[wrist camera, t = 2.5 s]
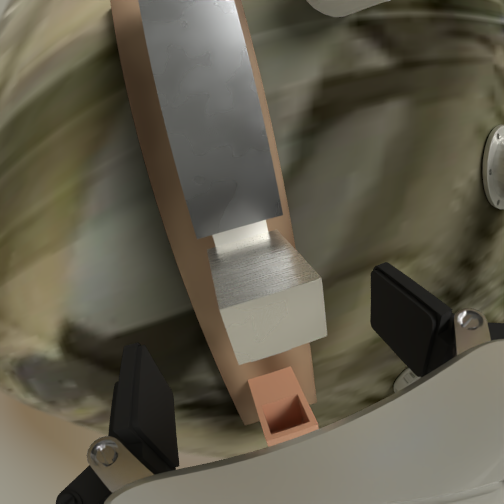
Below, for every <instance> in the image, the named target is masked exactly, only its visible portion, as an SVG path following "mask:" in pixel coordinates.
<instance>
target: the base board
mask: <svg viewBox="0 0 504 504" xmlns="http://www.w3.org/2000/svg"><path fill="white" fill-rule="evenodd" d="M110 2H111V9H112V16H113V22H114V28H115V34H116V40H117V46H118V51H119V56H120V61H121V66H122V71H123V76H124V81H125V85H126V90H127V94H128V99H129V103H130V107H131V112H132V116H133V120H134V124H135V128H136V132H137V136H138V139H139V143H140V147H141V151H142V154H143V158H144V161H145V165H146V169H147V172H148V176H149V179H150V182H151V186H152V189H153V192H154V196H155V199H156V202H157V205H158V209H159V212H160V215H161V218H162V221H163V224H164V227H165V230H166V233H167V236H168V239H169V242H170V245H171V248H172V251H173V254H174V257H175V260H176V262H177V265H178V268H179V271H180V274H181V276H182V279H183V282H184V285H185V287H186V290H187V293H188V295H189V298H190V300H191V303H192V306H193V308H194V311H195V313H196V316H197V318H198V321H199V324H200V326H201V328H202V331H203V333H204V336H205V338H206V341H207V343H208V346H209V348H210V350H211V353H212V355H213V357H214V360H215V362H216V364H217V367H218V369H219V371H220V374H221V376H222V378H223V380H224V383H225V385H226V387H227V389H228V391H229V394H230V396H231V398H232V400H233V402H234V404H235V406H236V409H237V411H238V413H239V415H240V417H241V419H242V421H243V423H244V425H249V424H252V423H256V422H259V421H260V419H259V416H258V413H257V409H256V406H255V403H254V399H253V396H252V393H251V389H250V386H249V383H248V380H249V379H252V378H255V377H259V376H262V375H265V374H268V373H272V372H275V371H278V370H281V369H284V368H287V367H290V366H291V368H292V370H293V372H294V374H295V376H296V378H297V380H298V383H299V385H300V387H301V389H302V391H303V393H304V395H305V397H306V400H307V402H308V404H309V405H311V404H314V403H316V402H317V400H316V390H315V382H314V373H313V365H312V357H311V349H310V342H309V343H306V344H303V345H300V346H298V347H295V348H292V349H291V350H288V351H285V352H282V353H279V354H276V355H273V356H270V357H266V358H263V359H260V360H257V361H254V362H248V363H244V364H241V365H239V364H238V361H237V359H236V356H235V353H234V350H233V348H232V345H231V342H230V339H229V336H228V334H227V331H226V328H225V325H224V322H223V319H222V316H221V313H220V310H219V306H218V301H217V297H216V292H215V287H214V282H213V278H212V273H211V268H210V263H209V258H208V253H207V249H210V248H214V247H216V246H215V243H214V239H213V236H212V235H210V236H207V237H203V238H200V239H197V238H196V234H195V231H194V228H193V224H192V221H191V218H190V214H189V211H188V207H187V204H186V200H185V197H184V193H183V190H182V186H181V183H180V179H179V176H178V172H177V168H176V165H175V161H174V157H173V154H172V150H171V146H170V142H169V138H168V134H167V130H166V126H165V123H164V118H163V114H162V110H161V106H160V102H159V98H158V94H157V89H156V85H155V81H154V76H153V72H152V67H151V63H150V58H149V53H148V49H147V44H146V39H145V34H144V29H143V24H142V18H141V13H140V8H139V2H138V0H110ZM234 2H235V6H236V9H237V13H238V17H239V20H240V24H241V28H242V32H243V36H244V40H245V44H246V48H247V51H248V56H249V60H250V64H251V68H252V72H253V76H254V80H255V84H256V89H257V93H258V97H259V102H260V106H261V110H262V115H263V119H264V124H265V128H266V133H267V138H268V142H269V147H270V152H271V156H272V161H273V166H274V171H275V176H276V181H277V186H278V191H279V196H280V201H281V206H282V212H283V215H282V216H278V217H274V218H271V219H267V220H266V223H267V228H268V232H270V231H273V230H278V231H279V232H280V233H281V234H282V236H283V237H284V238H285V239H286V240H287V241H288V242H289V243H290V244H291V245H292V246H293V247H294V249H295V243H294V237H293V231H292V226H291V220H290V214H289V209H288V203H287V198H286V193H285V188H284V182H283V177H282V172H281V167H280V162H279V157H278V152H277V147H276V143H275V138H274V133H273V128H272V124H271V119H270V115H269V110H268V106H267V101H266V97H265V93H264V88H263V84H262V80H261V76H260V71H259V67H258V63H257V59H256V55H255V51H254V47H253V43H252V39H251V35H250V32H249V28H248V24H247V20H246V17H245V13H244V9H243V6H242V2H241V0H234ZM295 250H296V249H295Z"/></svg>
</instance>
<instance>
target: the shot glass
mask: <svg viewBox="0 0 504 504" xmlns="http://www.w3.org/2000/svg"><path fill="white" fill-rule="evenodd" d="M306 1H307V2H308V3H309V4H310V5H311V6H312V7H313V8H314V9H316V10H318V11H319V12H321V13H323V14H325V15H328V16H332V17H345V16H347V15H350V14H352V13H355V12H357V11H360V10H363V9H366V8H368V7H371V6H374V5H377V4H380V3H383V2H386V1H389V0H306Z"/></svg>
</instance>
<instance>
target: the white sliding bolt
mask: <svg viewBox="0 0 504 504" xmlns="http://www.w3.org/2000/svg"><path fill="white" fill-rule="evenodd" d="M212 236H213V239H214V243H215V246H216V247H214V248H210V249H207V253H208V258H209V263H210V268H211V273H212V278H213V282H214V287H215V292H216V297H217V301H218V306H219V310H220V313H221V316H222V319H223V322H224V325H225V328H226V331H227V334H228V336H229V339H230V342H231V345H232V348H233V350H234V353H235V356H236V359H237V361H238V364H239V365H241V364H244V363H248V362H254V361H257V360H260V359H263V358H266V357H270V356H273V355H276V354H279V353H282V352H285V351H288V350H291V349H292V348H295V347H298V346H300V345H303V344H306V343H309V342H312V341H314V340H317V339H320V338H323V337H325V336H327V328H326V317H325V307H324V297H323V287H322V279H321V277H320V276H319V275H318V274H317V273H316V271H315V270H314V269H313V268H312V267H311V266H310V265H309V264H308V263H307V262H306V260H305V259H304V258H303V257H302V256H301V255H300V254H299V253H298V252H297V251H296V250H295V249H294V247H293V246H292V245H291V244H290V243H289V242H288V241H287V240H286V239H285V238H284V237H283V236H282V234H281V233H280V232H279V231H278V230H273V231H270V232H268V228H267V223H266V220H263V221H260V222H256V223H253V224H249V225H245V226H242V227H238V228H235V229H231V230H228V231H224V232H221V233H217V234H214V235H212Z"/></svg>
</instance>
